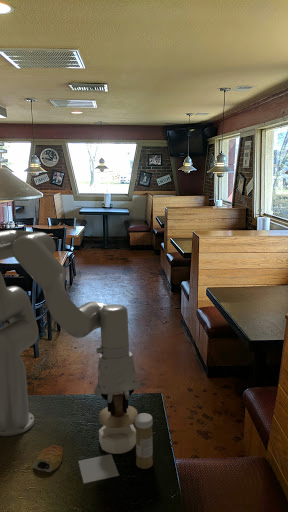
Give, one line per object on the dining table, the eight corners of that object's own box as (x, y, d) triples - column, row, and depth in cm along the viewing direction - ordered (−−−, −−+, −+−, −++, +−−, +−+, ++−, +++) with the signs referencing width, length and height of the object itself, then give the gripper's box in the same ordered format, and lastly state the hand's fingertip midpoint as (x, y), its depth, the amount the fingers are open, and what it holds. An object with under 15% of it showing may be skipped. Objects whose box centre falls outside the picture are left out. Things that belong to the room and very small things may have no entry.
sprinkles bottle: (135, 459, 111) (134, 413, 109) (152, 458, 111) (151, 411, 109) (136, 470, 106) (135, 422, 104) (154, 469, 107) (153, 421, 105)
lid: (103, 431, 110) (102, 407, 109) (95, 411, 120) (94, 389, 119) (142, 423, 113) (142, 400, 112) (131, 404, 123) (131, 382, 122)
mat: (83, 484, 102) (83, 483, 102) (78, 462, 110) (78, 460, 110) (119, 476, 104) (119, 475, 104) (111, 455, 113) (111, 454, 113)
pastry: (46, 450, 116) (46, 437, 115) (69, 452, 115) (69, 440, 114) (31, 472, 107) (30, 458, 106) (55, 475, 106) (55, 461, 105)
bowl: (104, 458, 112) (103, 444, 111) (97, 437, 121) (96, 424, 121) (139, 450, 115) (139, 437, 114) (130, 430, 124) (129, 418, 123)
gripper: (88, 359, 108) (91, 424, 110) (147, 350, 112) (149, 413, 115) (83, 349, 115) (87, 411, 117) (139, 341, 119) (142, 400, 122)
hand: (118, 411), depth 116 cm, fingers closed on lid, 3 cm apart
